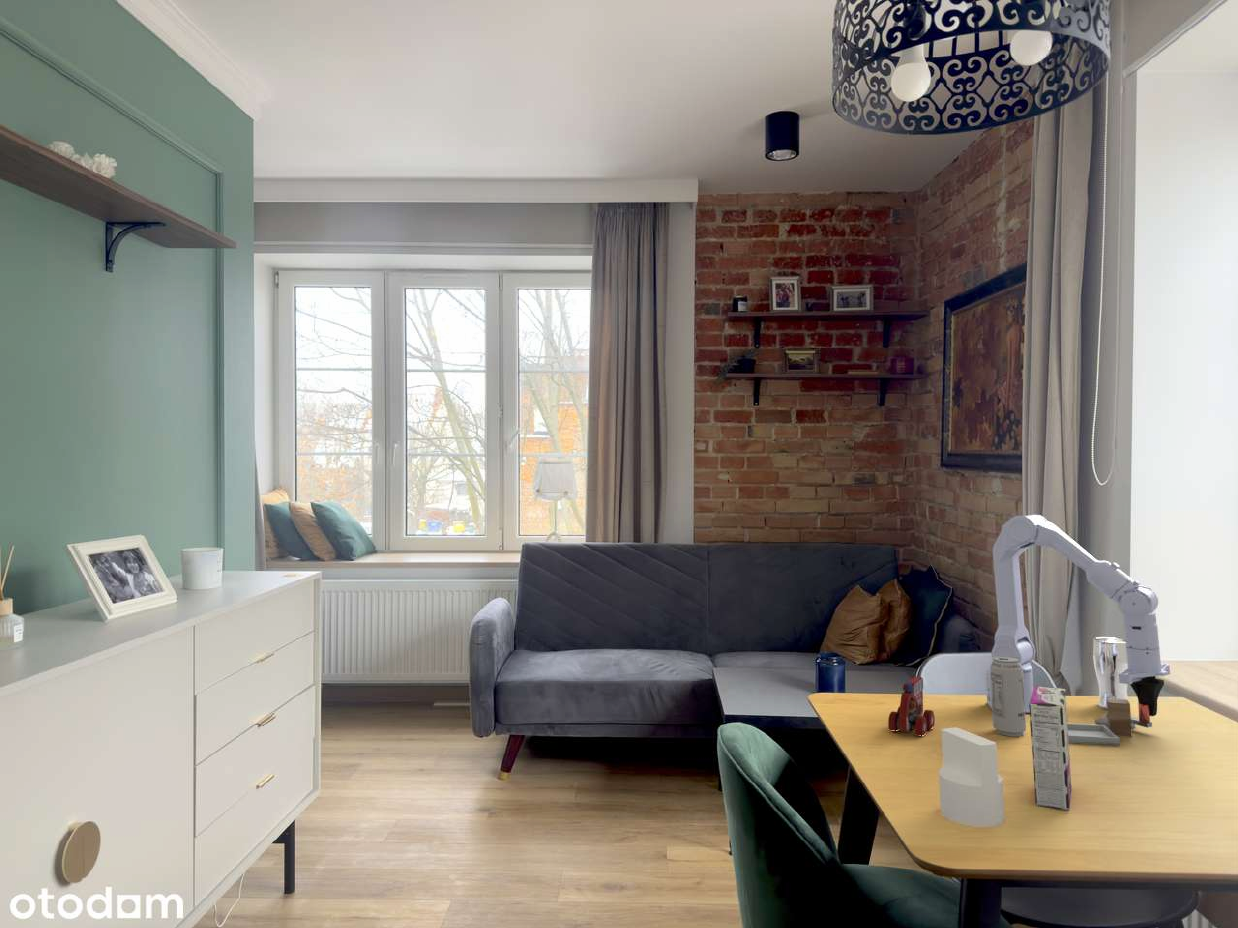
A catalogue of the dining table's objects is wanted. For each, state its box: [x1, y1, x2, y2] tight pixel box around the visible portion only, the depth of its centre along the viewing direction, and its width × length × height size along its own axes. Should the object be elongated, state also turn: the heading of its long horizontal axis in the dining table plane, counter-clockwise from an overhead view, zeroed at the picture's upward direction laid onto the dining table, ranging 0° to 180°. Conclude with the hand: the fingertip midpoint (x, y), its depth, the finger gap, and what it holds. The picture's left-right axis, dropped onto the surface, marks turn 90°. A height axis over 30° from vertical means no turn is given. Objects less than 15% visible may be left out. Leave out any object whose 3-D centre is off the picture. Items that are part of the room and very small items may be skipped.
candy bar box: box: [1029, 686, 1072, 811], centre depth 125 cm, size 11×5×16 cm, turn 148°
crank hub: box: [1094, 717, 1136, 730], centre depth 161 cm, size 7×7×1 cm
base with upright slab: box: [938, 727, 1006, 828], centre depth 119 cm, size 9×9×12 cm
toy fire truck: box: [887, 675, 936, 737], centre depth 161 cm, size 7×12×10 cm, turn 142°
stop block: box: [1106, 698, 1132, 738], centre depth 155 cm, size 4×4×6 cm
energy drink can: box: [989, 656, 1027, 737], centre depth 158 cm, size 6×6×15 cm
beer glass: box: [1092, 636, 1130, 710], centre depth 174 cm, size 7×7×15 cm
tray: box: [1067, 722, 1121, 746], centre depth 153 cm, size 9×9×1 cm
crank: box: [1105, 702, 1153, 728], centre depth 159 cm, size 9×3×4 cm, turn 21°
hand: (1148, 714), depth 156 cm, fingers closed, pressing on crank
